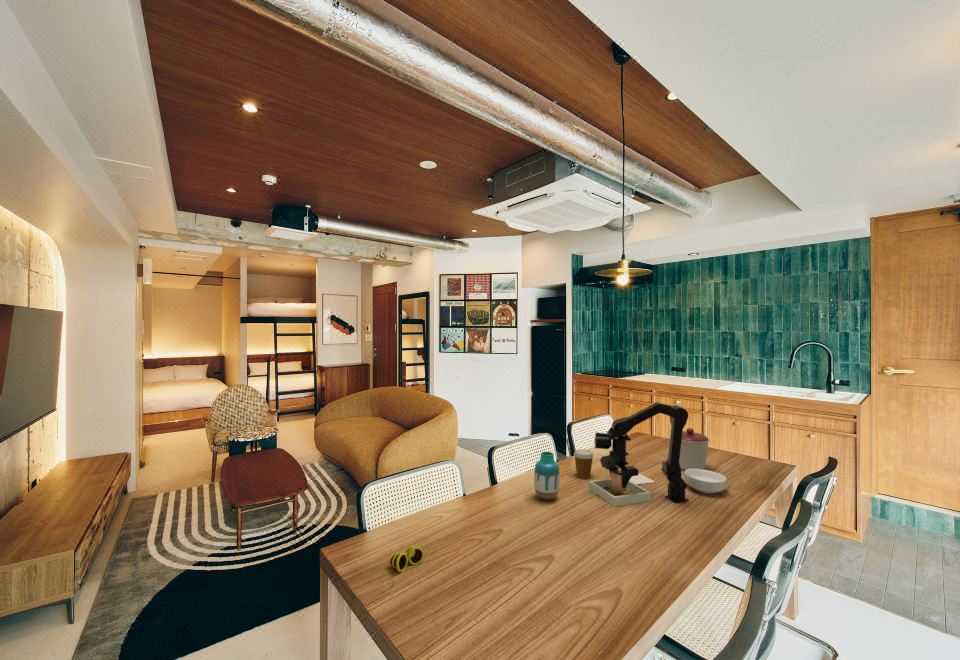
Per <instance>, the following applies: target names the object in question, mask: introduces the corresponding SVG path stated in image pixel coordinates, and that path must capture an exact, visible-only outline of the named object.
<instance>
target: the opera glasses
mask: <svg viewBox="0 0 960 660" xmlns="http://www.w3.org/2000/svg"><path fill="white" fill-rule="evenodd" d="M413 552H414V554H413ZM424 553H425V552H424V550H423V548H422V547H419V546H413V545H412V546H408V547H407V548H406V550H405V552H401V553H392V554H391V555H390V556H389V560H388V564H389V566H390V567H392V568H394V569H395V570H397V571H398V572H399V573H403V572H404V571H405V570H406V569H407V566H408V563H410V564H411V565H414V566H415V565H416V566H417V565H419V564H420V563H422V561H423V560H424V557H425V554H424ZM411 554H413V555H412V556H411Z"/></svg>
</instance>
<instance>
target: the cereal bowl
mask: <svg viewBox="0 0 960 660" xmlns="http://www.w3.org/2000/svg"><path fill="white" fill-rule="evenodd" d="M683 473H684V474H683V475H684V481H685V482H686V483H687V485H689V486H690V487H692V488H693V489H694V490H695V491H697V492H699V493H703V494H708V495H709V494H714V493H720V492H722V491H723V490H725V488H726V487H727V481H728V480H727V478H726V476H725V475H723V474H722V473H718V472H717V471H711V470H708V469H687V470H684V472H683Z"/></svg>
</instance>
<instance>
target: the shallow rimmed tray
mask: <svg viewBox="0 0 960 660" xmlns="http://www.w3.org/2000/svg"><path fill="white" fill-rule="evenodd" d="M602 487H608V488H611V477H610V478H604V479H602V478H601V479H596V480H589V481H588V490H589V489H590V490H589V491H591V490H592V491H593V493H594V492H595V493H596V494H595V493H594V494H595V495H597V494H598V495H599V496H598V495H597V496H598V497H599V498H601V497H602V498H601V499H602V500H604V499H605V500H606V502H607V503H608V502H609V503H608V504H610V505H611V504H612V505H611V506H613V507H621V506H626V505H632V503H634V504H638V503H639V502H640V503H645V501H647V502H651V501H652V492H651V491H650V490H648V489H645V488H644V487H642V486H641V485H636V484H635V483H633V482H631V481H629V482H628V484H627V485H626V489H627V488H628V489H627V490H629V491H630V490H631V491H630V492H632V491H633V492H632V493H630V494H622V495H616V496H615V495H614V494H612V493H610V492H609V491H607V490H606V489H605V488H602ZM592 491H591V492H592ZM605 500H604V501H605Z"/></svg>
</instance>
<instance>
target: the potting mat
mask: <svg viewBox="0 0 960 660" xmlns="http://www.w3.org/2000/svg"><path fill="white" fill-rule="evenodd" d="M629 481H631V482H633V483H635V484H636V485H638V484H642V485H647V484H646V483H649V484H655V483H656V481H655V480H653V479H651V478H649V477H647V476H645V475H643V474H642V473H639V475H638V476H632V477H631V479H630V480H629ZM654 482H655V483H654ZM638 486H639V485H638Z"/></svg>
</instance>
